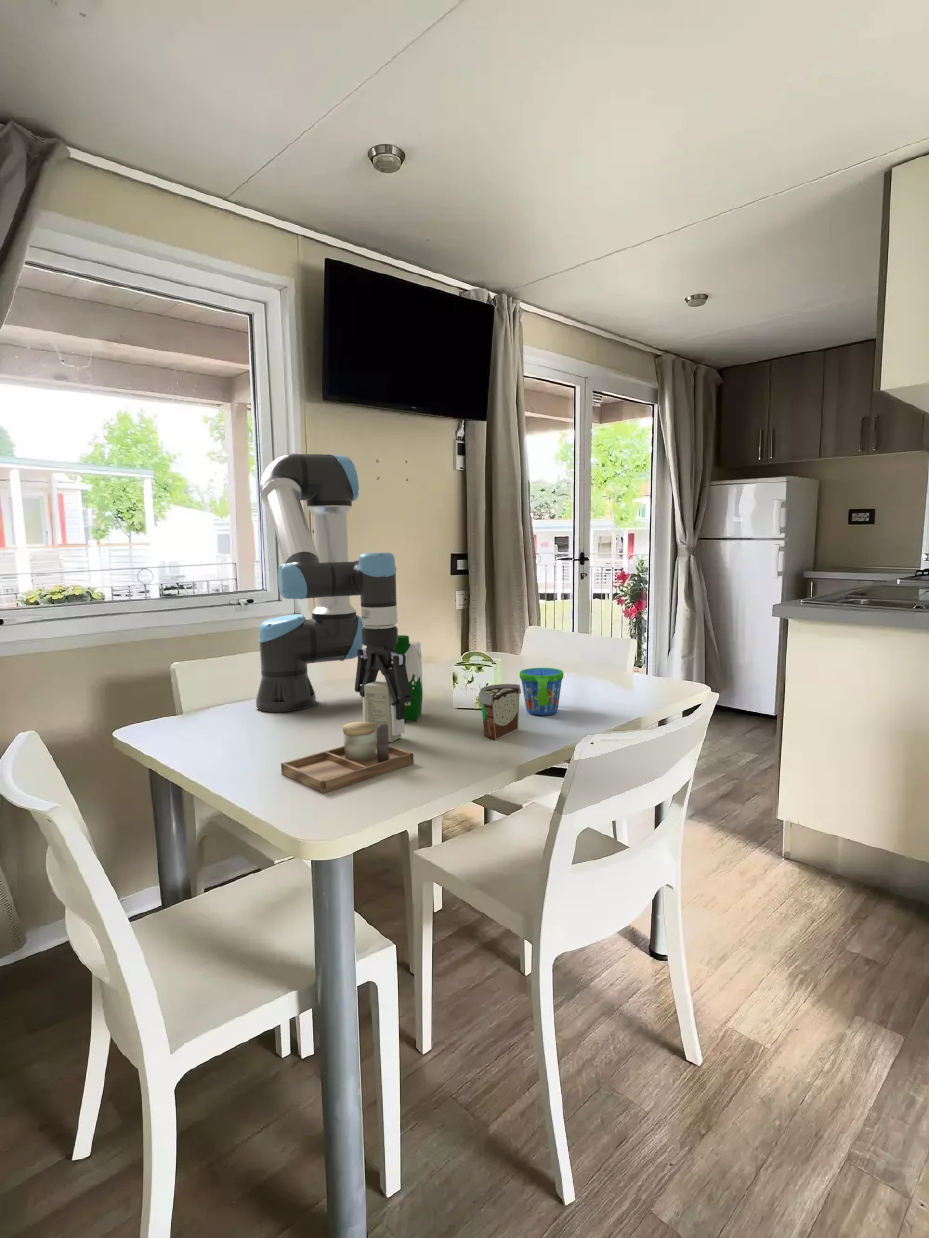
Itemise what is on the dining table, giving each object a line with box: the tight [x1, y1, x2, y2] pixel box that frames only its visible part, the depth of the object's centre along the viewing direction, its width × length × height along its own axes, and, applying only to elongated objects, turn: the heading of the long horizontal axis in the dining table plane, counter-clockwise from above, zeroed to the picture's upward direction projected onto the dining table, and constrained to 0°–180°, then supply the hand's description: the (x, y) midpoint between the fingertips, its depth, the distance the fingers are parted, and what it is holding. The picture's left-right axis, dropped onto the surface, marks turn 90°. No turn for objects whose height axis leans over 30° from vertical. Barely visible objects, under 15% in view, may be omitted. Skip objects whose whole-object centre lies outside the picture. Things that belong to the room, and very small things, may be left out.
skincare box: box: [364, 681, 402, 743], centre depth 141 cm, size 6×4×12 cm
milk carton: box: [383, 634, 424, 722], centre depth 157 cm, size 9×9×20 cm
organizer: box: [280, 720, 414, 794], centre depth 123 cm, size 14×20×8 cm
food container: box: [477, 683, 522, 741], centre depth 144 cm, size 12×6×10 cm, turn 145°
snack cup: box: [519, 667, 564, 716], centre depth 160 cm, size 16×10×10 cm
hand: (383, 729), depth 141 cm, fingers open, 9 cm apart
